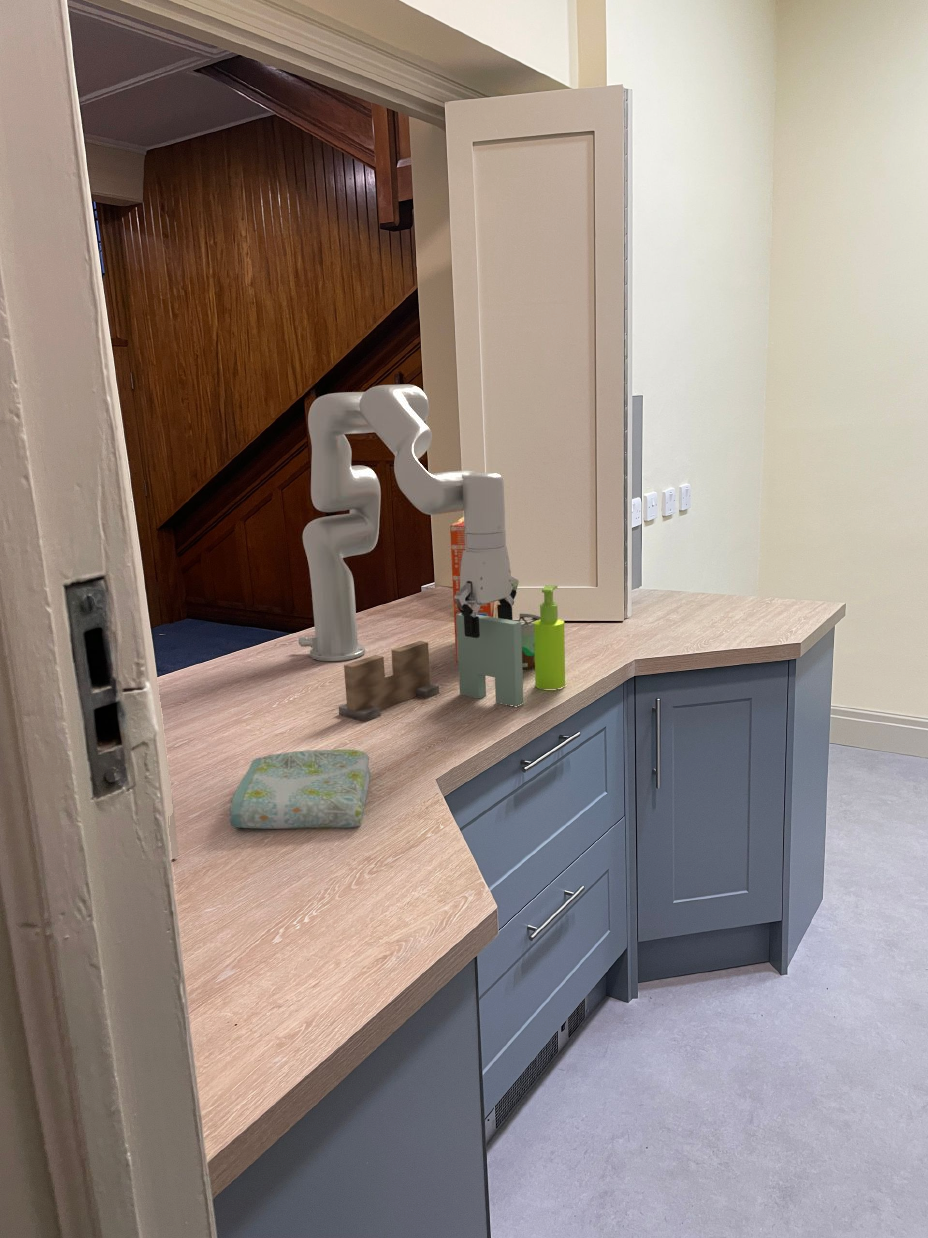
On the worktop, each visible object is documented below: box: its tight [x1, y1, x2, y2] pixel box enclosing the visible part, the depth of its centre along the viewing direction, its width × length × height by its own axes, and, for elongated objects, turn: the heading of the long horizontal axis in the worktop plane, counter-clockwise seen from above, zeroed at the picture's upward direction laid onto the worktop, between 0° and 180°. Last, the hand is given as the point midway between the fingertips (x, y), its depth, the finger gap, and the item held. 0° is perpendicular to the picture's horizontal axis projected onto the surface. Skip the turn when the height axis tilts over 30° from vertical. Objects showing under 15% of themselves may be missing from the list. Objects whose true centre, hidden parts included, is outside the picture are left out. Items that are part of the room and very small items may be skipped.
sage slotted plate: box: [456, 614, 524, 706], centre depth 179 cm, size 2×14×16 cm, turn 49°
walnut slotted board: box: [338, 640, 440, 723], centre depth 179 cm, size 20×7×10 cm, turn 139°
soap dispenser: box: [534, 584, 566, 690], centre depth 185 cm, size 6×7×20 cm
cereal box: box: [449, 516, 501, 664], centre depth 212 cm, size 23×8×30 cm, turn 169°
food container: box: [517, 612, 540, 672], centre depth 201 cm, size 12×6×10 cm, turn 168°
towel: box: [229, 748, 371, 830], centre depth 138 cm, size 18×21×5 cm
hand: (489, 631), depth 177 cm, fingers open, 9 cm apart
